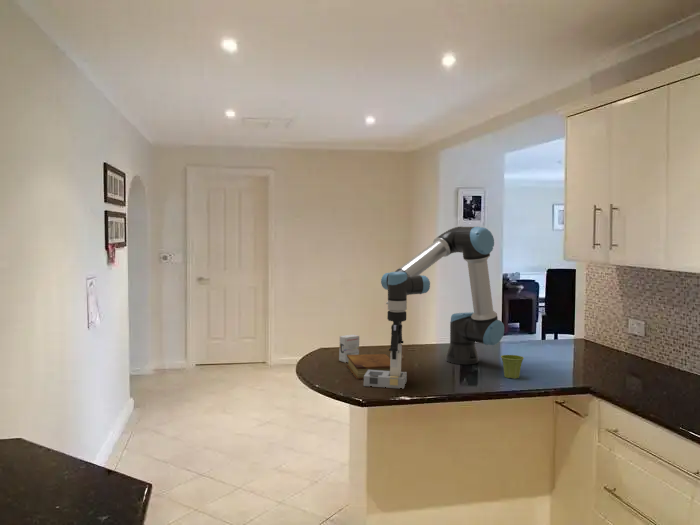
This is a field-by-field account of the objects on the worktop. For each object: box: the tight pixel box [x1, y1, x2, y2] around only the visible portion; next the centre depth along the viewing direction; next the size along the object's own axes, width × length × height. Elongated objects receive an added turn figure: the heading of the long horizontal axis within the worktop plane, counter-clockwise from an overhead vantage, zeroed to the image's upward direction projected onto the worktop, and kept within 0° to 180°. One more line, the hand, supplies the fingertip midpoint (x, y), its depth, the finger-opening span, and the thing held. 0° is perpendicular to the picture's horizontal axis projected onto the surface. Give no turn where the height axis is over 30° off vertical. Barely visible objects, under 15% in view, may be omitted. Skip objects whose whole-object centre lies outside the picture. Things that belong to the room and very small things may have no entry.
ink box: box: [338, 334, 360, 364], centre depth 283 cm, size 9×5×12 cm, turn 129°
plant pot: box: [500, 354, 525, 380], centre depth 258 cm, size 9×9×9 cm
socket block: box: [363, 370, 408, 390], centre depth 243 cm, size 16×11×4 cm
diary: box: [346, 353, 390, 380], centre depth 263 cm, size 23×19×6 cm
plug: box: [389, 350, 402, 377], centre depth 242 cm, size 4×4×13 cm
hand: (396, 363), depth 242 cm, fingers open, 13 cm apart
